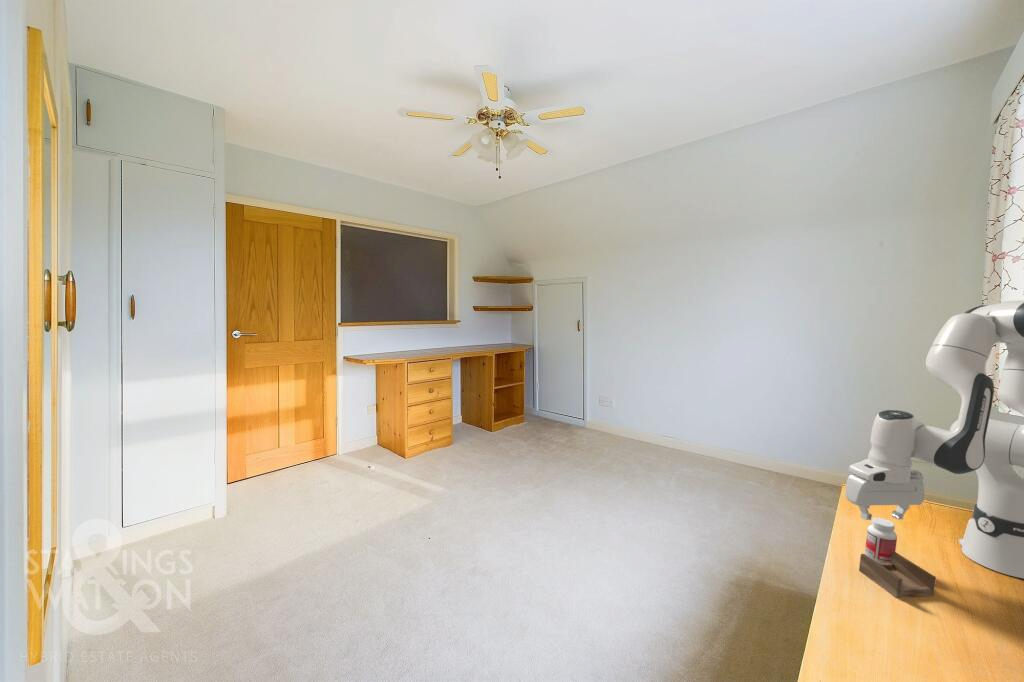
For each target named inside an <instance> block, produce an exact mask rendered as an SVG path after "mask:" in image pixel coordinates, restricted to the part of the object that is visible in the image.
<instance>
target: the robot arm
mask: <svg viewBox="0 0 1024 682" xmlns="http://www.w3.org/2000/svg"><path fill="white" fill-rule="evenodd" d="M996 343H999V344H1005V346H1006V349H1007V355H1006V359H1005V360H1004V364H1003V368H1002V371H1001V377H1000V380H999V382H998V383H999V385H998V388H997V393H996V395H997V397H998V400H999V401H1000V402H1001V403H1002V404H1003V405H1005V406H1006V407H1008V408H1010V409H1012V410H1014V411H1016V412H1018V413H1019V414H1021V415H1023V416H1024V300H1023V299H1022V300H1009V301H1004V302H999V303H992V304H989V305H988V304H985V305H984V304H983V305H979V306H975V307H972V308H971V309H968V310H966V311H965V312H962V313H958V314H955V315H953V316H951V317H950V318H948V320H947V321H946V322H945V324H944V325H943V326H942V327H941V329H940V330H939V332H938V334H937V335H936V336H935V338H934V340H933V343H932V344H931V346H930V348H929V350H928V353H927V356H926V358H925V367H926V370H927V372H928V373H929V374H930V375H931V376H932V377H933V378H934V379H936V380H937V381H939V382H941V383H942V384H944V385H946V386H947V387H949V388H951V389H953V390H955V392H957V393H958V394H959V395H960V399H961V403H960V404H961V405H960V407H959V408H960V410H959V414H958V418H957V420H955V421H954V422H953V423H952V424H951V426H950V427H949V430H948V429H944V428H940V427H936V426H933V425H929V424H926V423H924V422H921V421H919V420H917V419H915V416H914V415H913V414H912V413H910V412H908V411H903V410H897V409H896V410H895V409H886V410H882V411H879V412H878V413H877V414H876V415H875V418H874V420H873V423H872V427H871V433H870V439H869V441H870V450H869V452H868V455H867V458H865V459H863V460H860V461H858V462H855V463H853V464H850V465H849V467H848V472H849V473H851V474H849V475H848V477H847V480H846V484H845V485H846V486H845V492H844V493H845V494H844V496H845V498H846V500H847V501H848V502H850V503H852V504H854V505H855V506H858V508H859V511H860V517H861V518H862V519H863V520H864V521H872V517H873V514H872V513H870V512H869V509H870V507H871V506H897V507H896V509H895V510H892V515H891V516H892V518H893V519H895V520H903V519H904V515H905V513H906V512H907V511H908V510H909V509H910V506H920V505H922V503H924V501H925V484H924V480H923V479H924V475H923V474H922V473H921V472H920V471H919V470H917V469H912V467H913V461H912V458H915V459H916V460H920V461H922V462H925V463H928V464H931V465H934V466H935V467H939V468H940V469H943V470H945V471H947V472H949V473H952V474H955V475H963V474H968V473H971V472H976V475H977V479H978V481H977V482H978V484H977V485H978V489H977V490H978V493H977V503H975V504H974V507H973V509H972V518H969V520H968V521H967V525H966V529H965V532H964V535H963V537H962V538H959V539H958V540H959V541H958V543H959V544H960V546H961V552H962V554H964V555H965V556H966V557H967V558H969V559H970V560H971V561H973V562H974V563H976V564H979V565H981V566H982V567H986V568H987V569H990V570H992V571H995V572H997V573H1000V574H1004V575H1006V576H1007V575H1008V576H1010V577H1015V578H1019V579H1024V477H1022V476H1021V475H1020V474H1018V472H1016V470H1015V469H1014V467H1013V466H1016V467H1021V468H1024V424H1019V423H1015V422H1014V423H1013V422H1008V421H1003V420H997V419H993V418H990V417H991V411H992V406H993V402H994V401H993V400H994V396H995V395H994V393H995V387H994V385H995V384H994V381H993V380H992V378H991V377H989V375H987V371H986V366H987V362H988V359H989V357H990V354H991V353H992V349H993V346H994V345H995V344H996Z"/></svg>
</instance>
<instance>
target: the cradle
mask: <svg viewBox="0 0 1024 682" xmlns="http://www.w3.org/2000/svg"><path fill="white" fill-rule="evenodd" d="M858 571H859V572H860V573H862V574H863V575H865V576H866V577H867V578H868V579H870V581H873V583H875V584H876V585H878V586H879V587H880V588H882V589H884V590H885V591H886V592H888V593H889V594H890V595H892V596H893V597H895V599H896V598H897V599H899V598H901V599H902V598H914V597H915V598H916V597H927V596H934V593H935V586H936V580H937V579H936V576H934V575H933V574H932V573H930V572H928V571H926V569H923V568H922V567H921V566H919V565H917V564H916V563H914V562H912V561H910V560H909V559H907V558H906V557H904V556H903V555H901V554H899V553H898V552H897V551H895V552H892V555H891V563H877V562H876V561H874V560H873V559H871V558H870V557H868V556H867V555H865V553H861V554H860V560H859V566H858Z"/></svg>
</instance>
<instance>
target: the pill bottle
mask: <svg viewBox="0 0 1024 682" xmlns="http://www.w3.org/2000/svg"><path fill="white" fill-rule="evenodd" d="M894 530H895V523H894V522H893V521H891V520H889V519H886V518H882V517H873V518H871V524H870V525H869V526H868V527H867V530H866V531H867V532H866V539H865V540H866V541H865V550H864V551H865V552H864V554H865V555H867V556H868V557H870V558H871V559H873V560H874V561H876V562H877V563H891V555H892V552H897V550H896V549H897V540H898V534H897V533H896V532H895V531H894Z"/></svg>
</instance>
